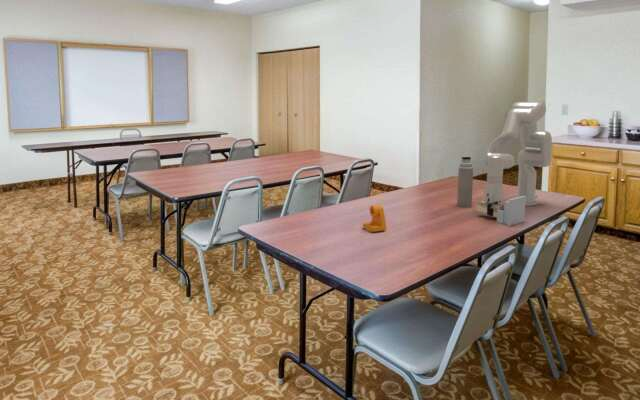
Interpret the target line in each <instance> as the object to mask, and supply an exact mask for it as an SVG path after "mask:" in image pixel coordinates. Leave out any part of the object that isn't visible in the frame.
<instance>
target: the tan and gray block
mask: <svg viewBox="0 0 640 400" xmlns="http://www.w3.org/2000/svg"><path fill="white" fill-rule="evenodd" d="M484 202H485V201H484V200H481V201H477V203H476V205H477V206H476V213H477V214H478V215H484V216H488V217H490V216H489V215H487V206H486V204H484ZM489 204H490V205H491V203H489ZM504 205H505V204H501V203H500V204H496V203H493V216H491V217H493V218H497V210H502V211H504Z"/></svg>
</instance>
